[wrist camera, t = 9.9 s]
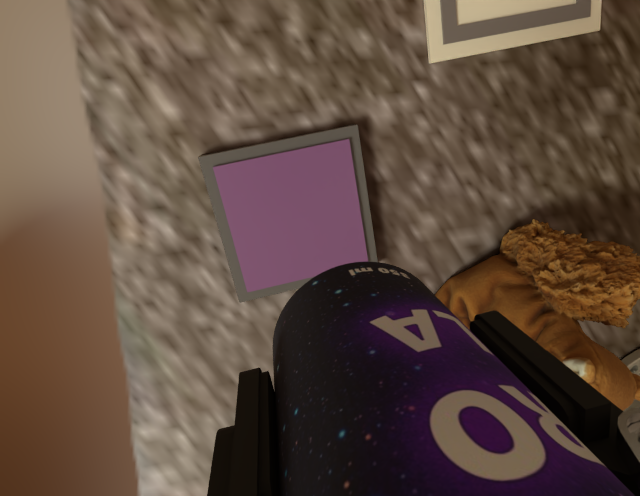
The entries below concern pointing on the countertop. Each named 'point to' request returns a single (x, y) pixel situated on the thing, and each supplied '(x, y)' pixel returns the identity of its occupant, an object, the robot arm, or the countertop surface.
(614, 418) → the robot arm
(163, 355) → the countertop surface
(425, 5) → the print card
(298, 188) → the ink pad
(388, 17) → the countertop surface
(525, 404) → the beverage can
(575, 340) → the stuffed squirrel
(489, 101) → the countertop surface
